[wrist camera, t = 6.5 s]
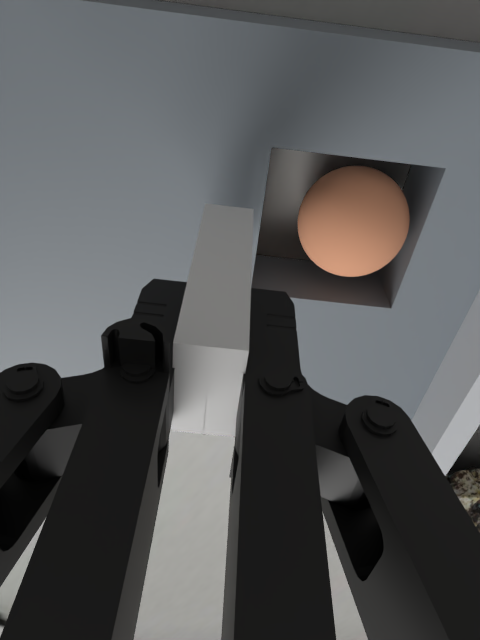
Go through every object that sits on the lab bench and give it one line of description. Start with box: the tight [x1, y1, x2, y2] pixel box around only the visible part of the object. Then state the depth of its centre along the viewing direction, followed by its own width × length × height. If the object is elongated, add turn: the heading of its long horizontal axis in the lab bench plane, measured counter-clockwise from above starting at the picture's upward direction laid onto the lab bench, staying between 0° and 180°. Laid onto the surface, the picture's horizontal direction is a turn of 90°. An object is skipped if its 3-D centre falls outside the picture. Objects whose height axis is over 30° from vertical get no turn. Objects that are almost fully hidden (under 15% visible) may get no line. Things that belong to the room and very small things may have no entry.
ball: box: [298, 166, 410, 277], centre depth 17 cm, size 4×4×4 cm
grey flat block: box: [0, 0, 480, 476], centre depth 17 cm, size 24×16×5 cm, turn 84°
